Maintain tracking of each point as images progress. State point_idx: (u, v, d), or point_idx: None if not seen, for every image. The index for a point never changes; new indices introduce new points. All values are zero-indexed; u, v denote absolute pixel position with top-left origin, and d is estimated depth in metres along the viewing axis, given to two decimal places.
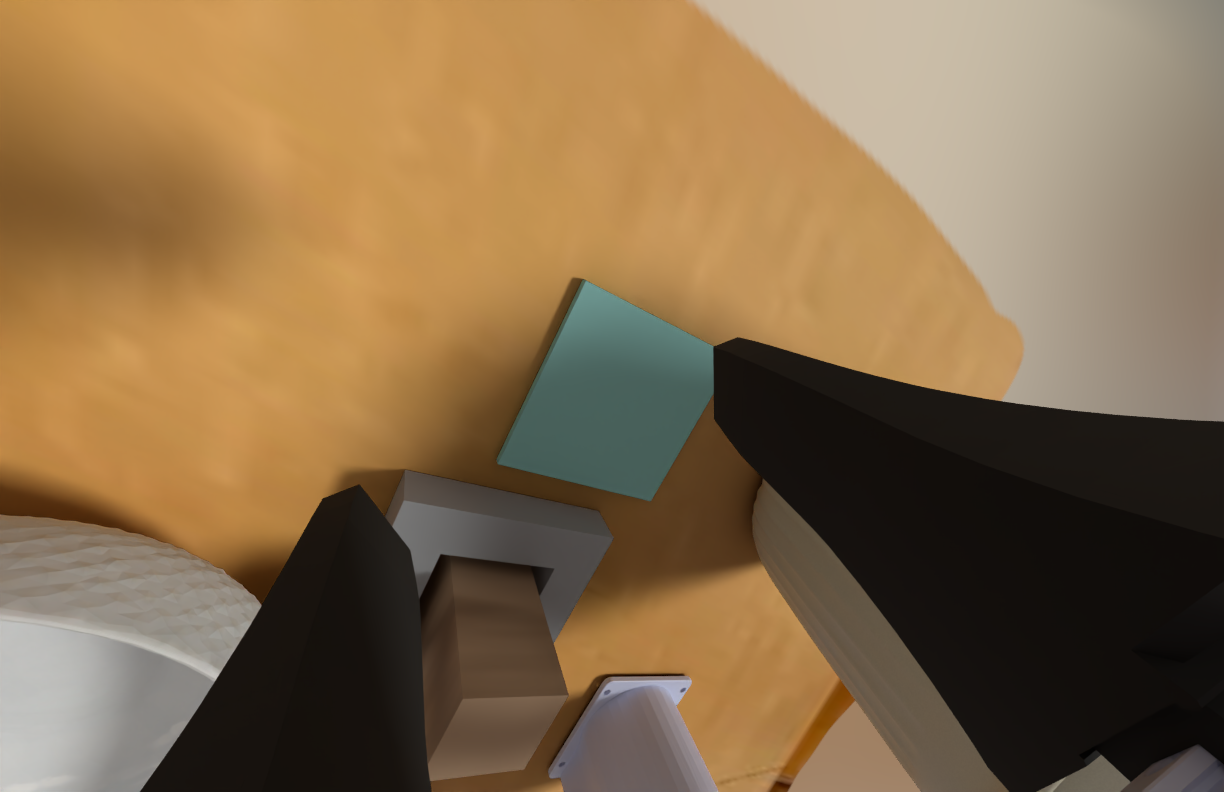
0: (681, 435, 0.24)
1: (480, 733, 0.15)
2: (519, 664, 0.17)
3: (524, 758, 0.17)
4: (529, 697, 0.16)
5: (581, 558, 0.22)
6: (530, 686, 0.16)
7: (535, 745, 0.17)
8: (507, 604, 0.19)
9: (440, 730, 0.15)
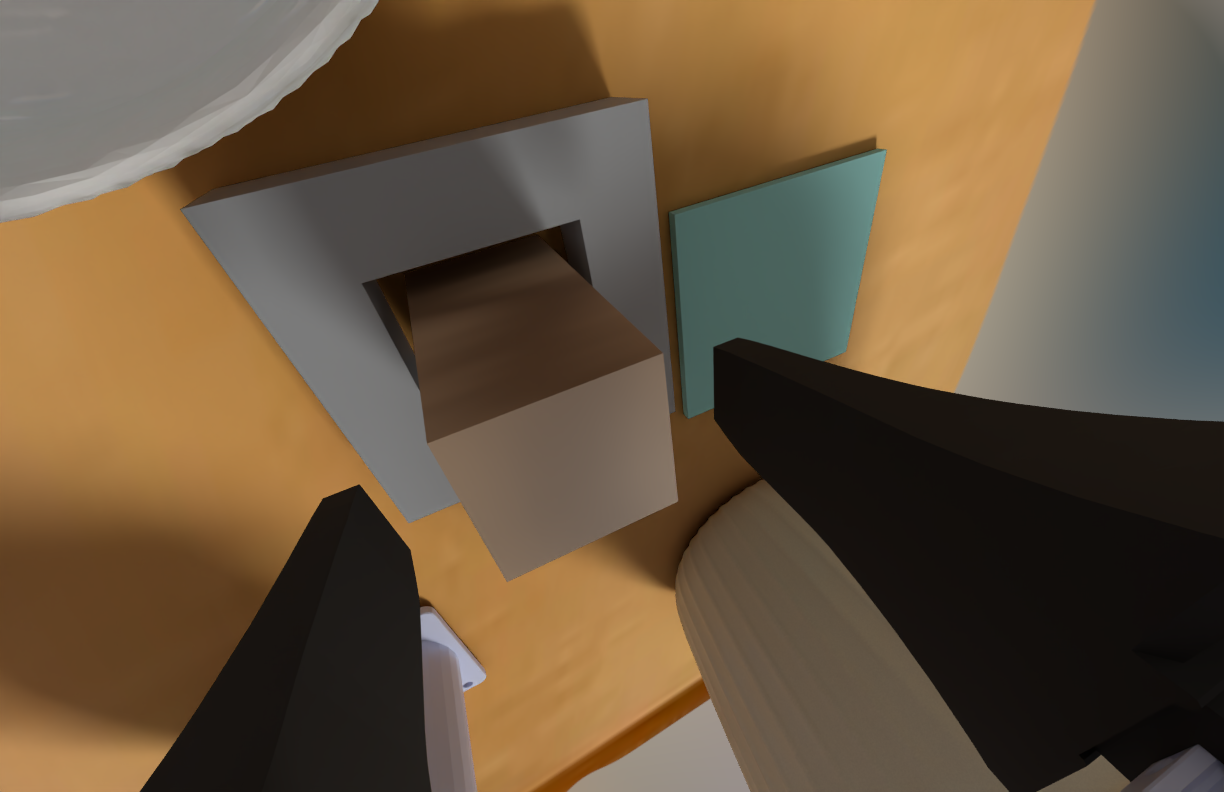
0: None
1: (584, 445, 0.08)
2: None
3: (535, 560, 0.09)
4: (670, 453, 0.09)
5: None
6: None
7: (568, 549, 0.09)
8: None
9: (549, 384, 0.07)
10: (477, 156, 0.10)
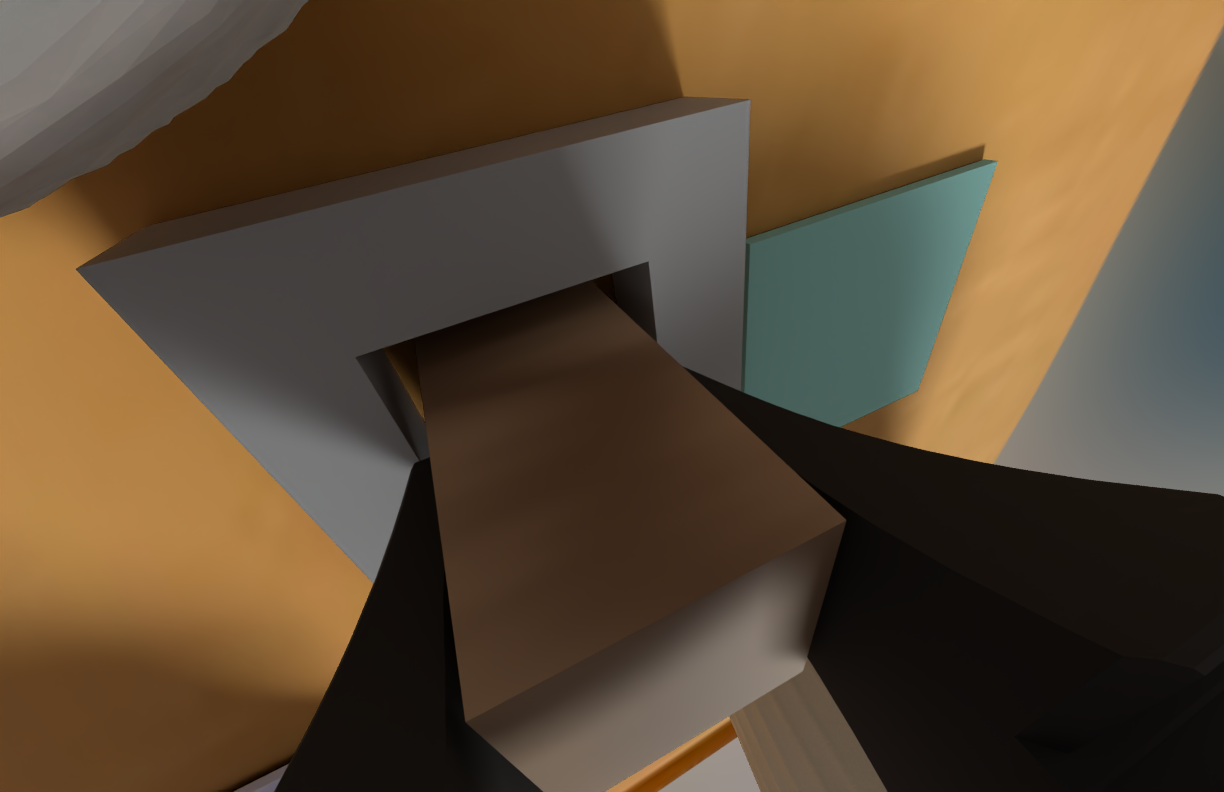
0: None
1: (706, 653, 0.05)
2: None
3: (609, 782, 0.06)
4: (811, 628, 0.06)
5: None
6: None
7: (654, 757, 0.06)
8: None
9: (663, 578, 0.04)
10: (519, 181, 0.07)
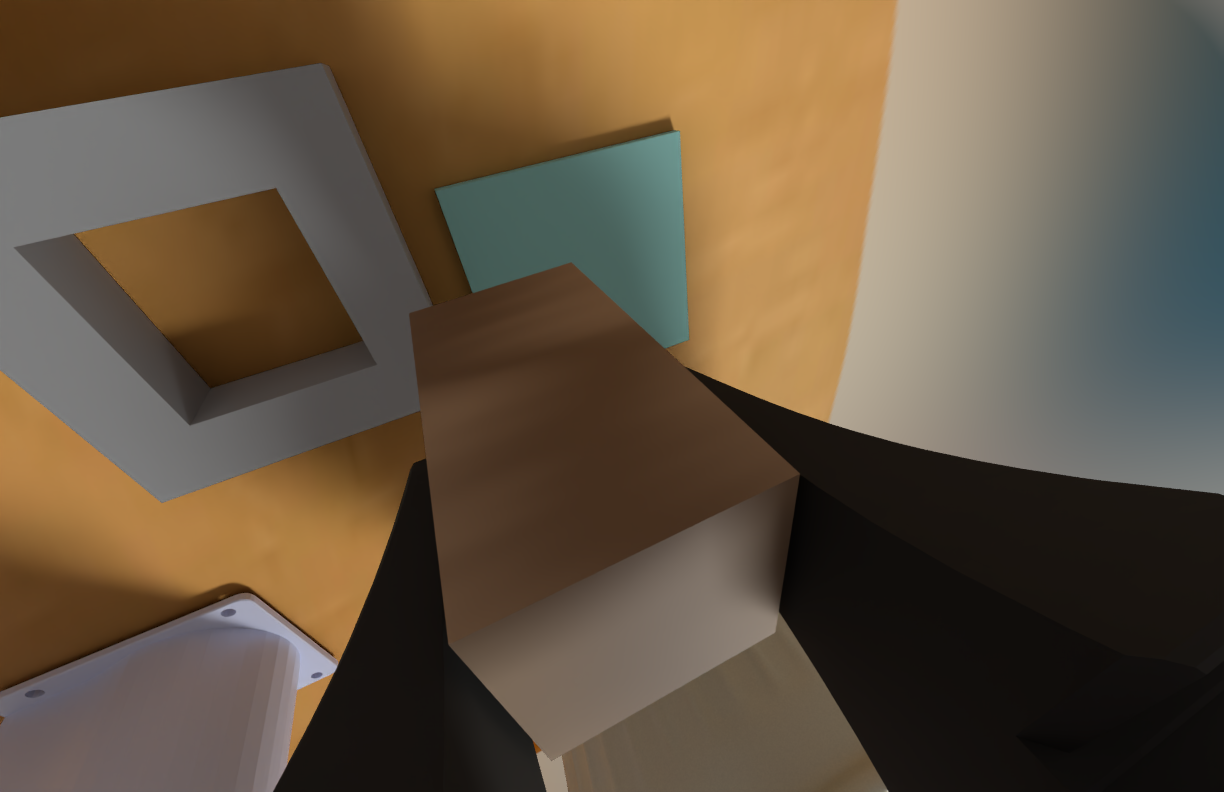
0: None
1: (674, 600, 0.05)
2: None
3: (589, 731, 0.07)
4: (779, 586, 0.07)
5: (415, 382, 0.16)
6: None
7: (633, 709, 0.07)
8: None
9: (631, 525, 0.05)
10: (119, 116, 0.10)
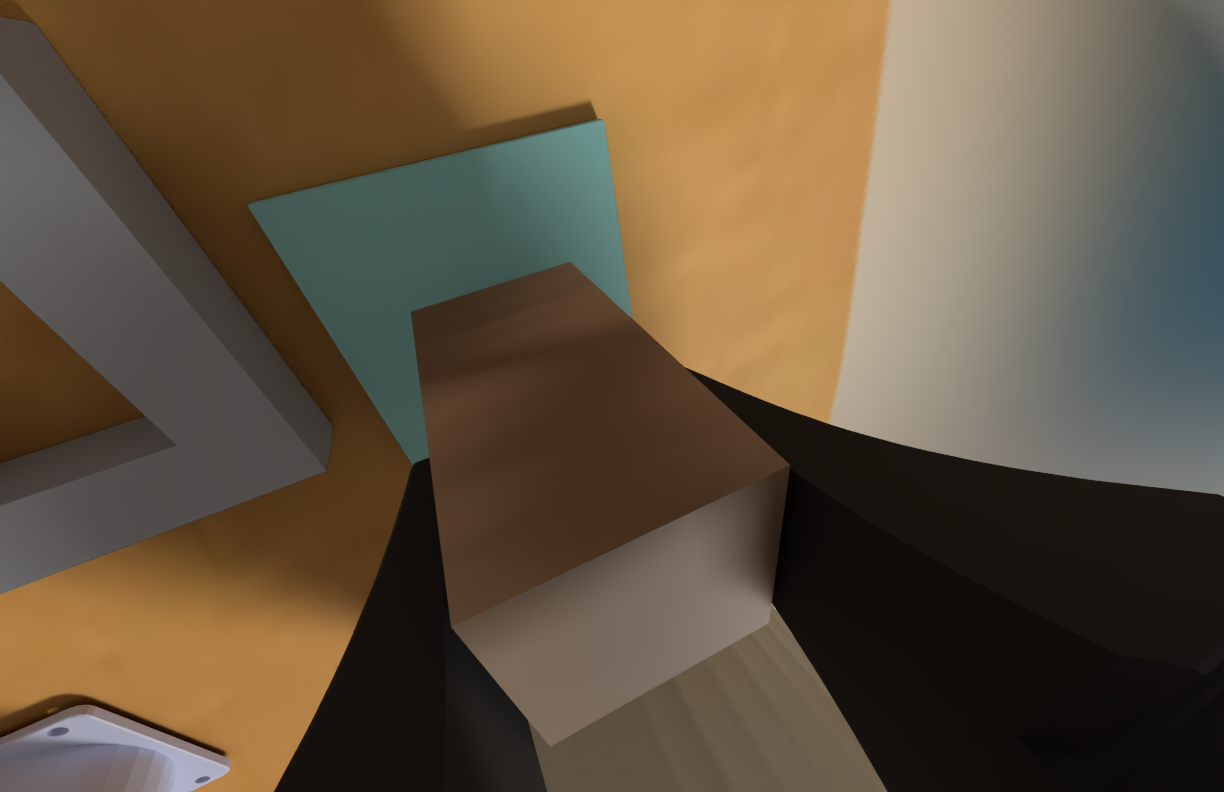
0: None
1: (670, 588, 0.06)
2: None
3: (587, 718, 0.07)
4: (771, 576, 0.07)
5: (243, 463, 0.12)
6: None
7: (629, 697, 0.07)
8: None
9: (627, 514, 0.05)
10: None
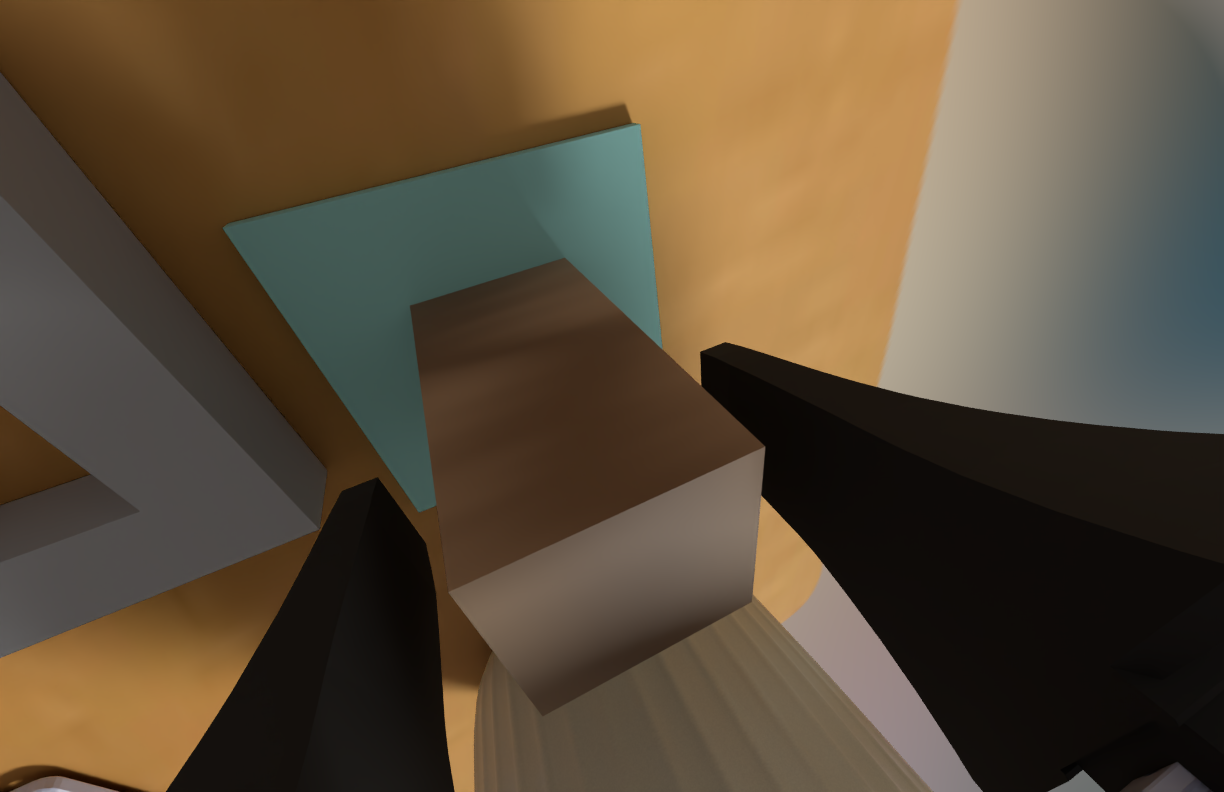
0: None
1: (653, 563, 0.06)
2: None
3: (578, 689, 0.07)
4: (752, 555, 0.07)
5: (221, 527, 0.10)
6: None
7: (618, 670, 0.07)
8: None
9: (612, 492, 0.05)
10: None
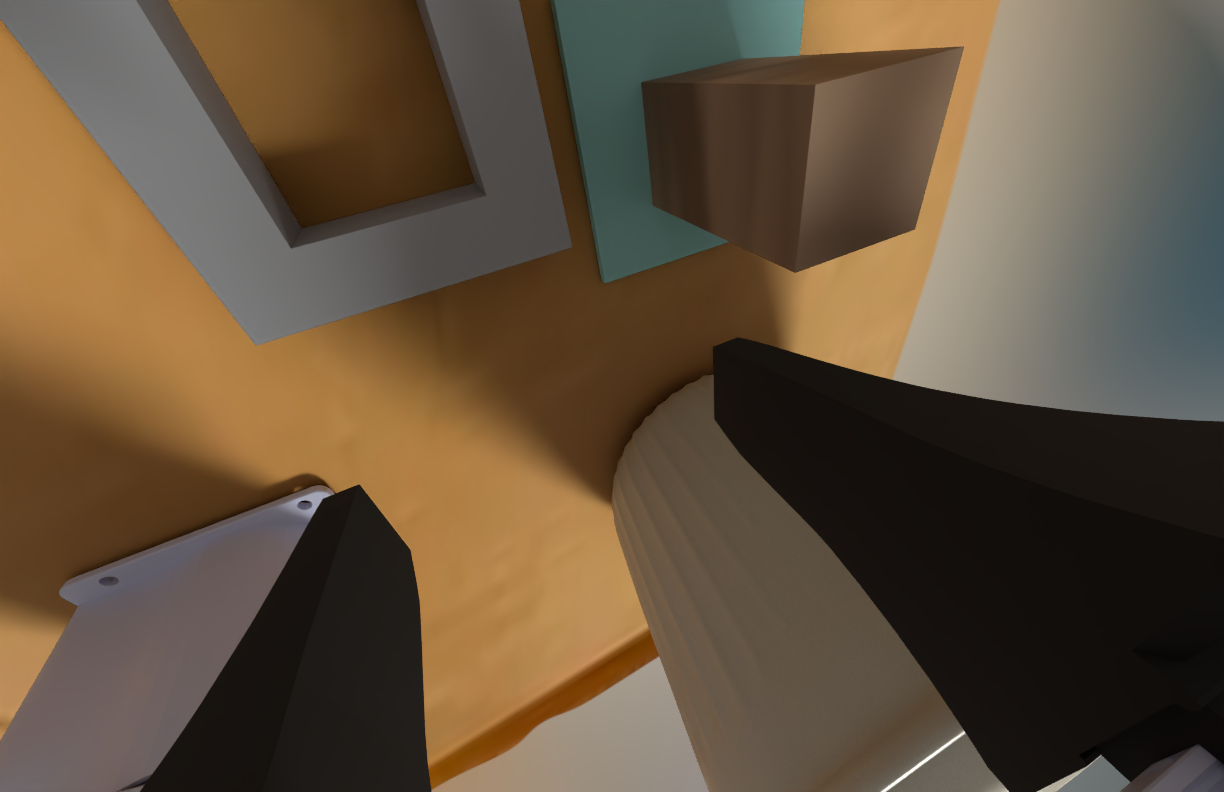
0: (692, 243, 0.19)
1: (889, 132, 0.10)
2: None
3: (818, 255, 0.11)
4: (929, 167, 0.11)
5: (522, 225, 0.14)
6: None
7: (839, 251, 0.12)
8: None
9: (881, 64, 0.10)
10: None
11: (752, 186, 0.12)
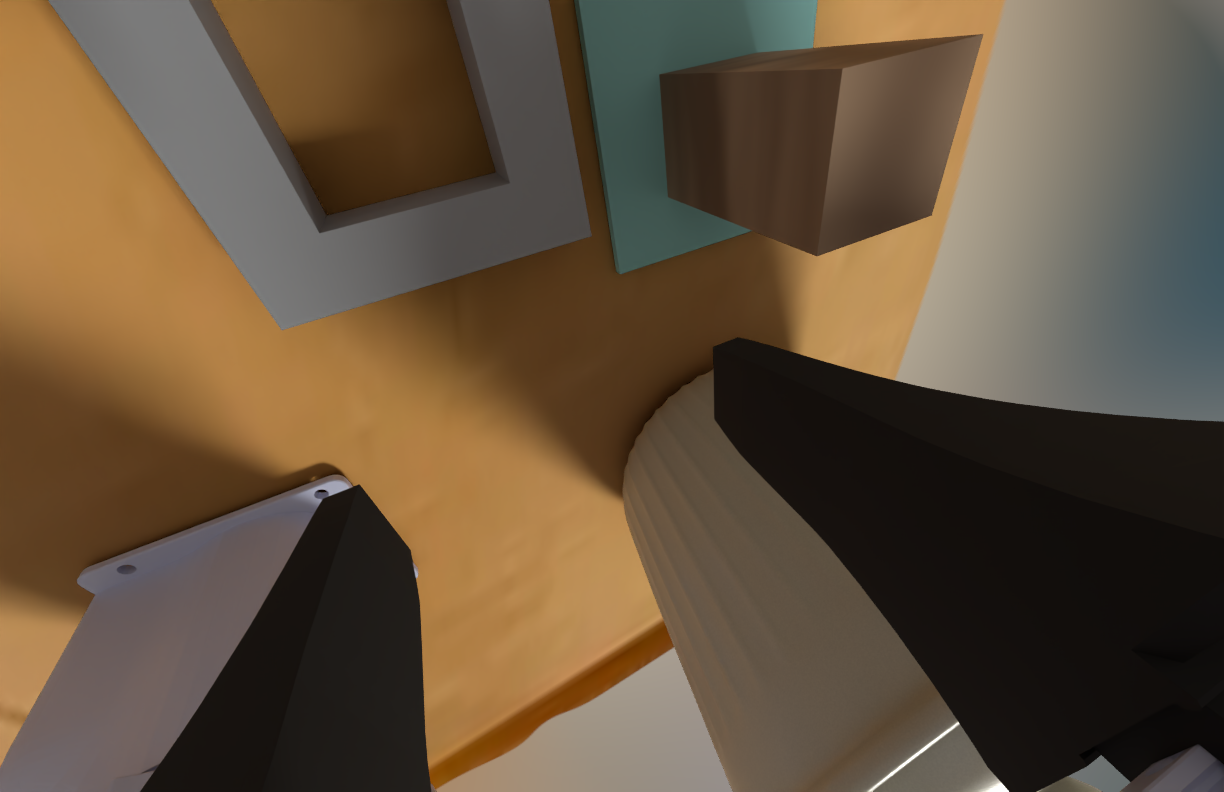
0: (705, 235, 0.19)
1: (910, 117, 0.10)
2: None
3: (839, 239, 0.12)
4: (947, 154, 0.12)
5: (544, 213, 0.14)
6: None
7: (858, 236, 0.12)
8: None
9: (904, 51, 0.10)
10: None
11: (774, 172, 0.12)
